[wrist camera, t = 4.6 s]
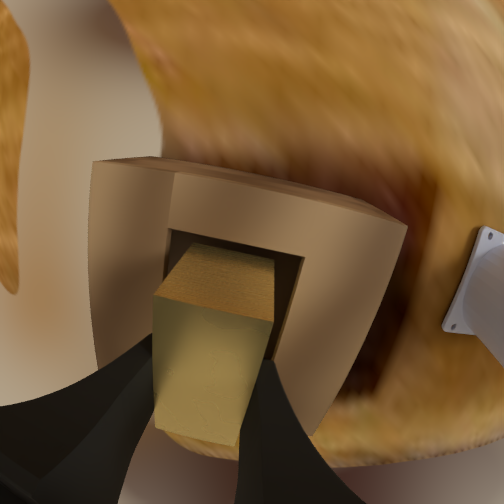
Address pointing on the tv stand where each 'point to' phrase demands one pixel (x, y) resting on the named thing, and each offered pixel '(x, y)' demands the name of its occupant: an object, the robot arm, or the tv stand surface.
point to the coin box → (250, 242)
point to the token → (210, 341)
